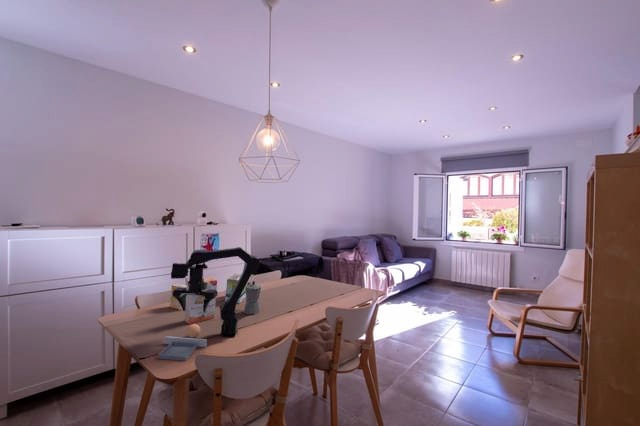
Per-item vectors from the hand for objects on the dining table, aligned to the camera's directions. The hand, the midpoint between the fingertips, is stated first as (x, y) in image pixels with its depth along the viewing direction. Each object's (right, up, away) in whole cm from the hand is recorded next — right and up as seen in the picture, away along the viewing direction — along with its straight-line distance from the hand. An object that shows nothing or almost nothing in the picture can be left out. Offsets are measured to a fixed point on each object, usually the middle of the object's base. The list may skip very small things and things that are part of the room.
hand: (194, 311), depth 136 cm
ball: (-1, -12, 0) cm, 12 cm away
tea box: (+3, -11, +56) cm, 57 cm away
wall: (-1, -12, -7) cm, 14 cm away
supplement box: (-24, -9, +34) cm, 42 cm away
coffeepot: (+17, -12, +37) cm, 43 cm away
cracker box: (-6, -11, +20) cm, 24 cm away
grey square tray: (-1, -12, -14) cm, 19 cm away
